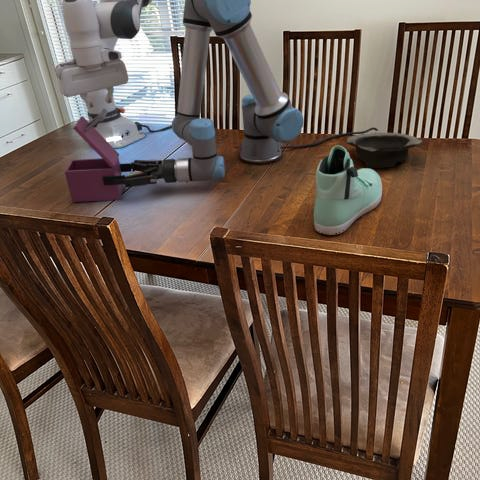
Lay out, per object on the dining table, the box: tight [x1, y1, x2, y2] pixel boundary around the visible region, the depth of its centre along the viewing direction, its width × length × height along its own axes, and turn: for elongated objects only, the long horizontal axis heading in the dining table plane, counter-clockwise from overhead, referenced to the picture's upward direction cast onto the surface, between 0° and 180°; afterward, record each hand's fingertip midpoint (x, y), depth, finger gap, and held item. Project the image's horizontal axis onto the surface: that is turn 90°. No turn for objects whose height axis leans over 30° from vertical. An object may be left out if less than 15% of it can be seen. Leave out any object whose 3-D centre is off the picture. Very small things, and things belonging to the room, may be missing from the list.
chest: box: [64, 157, 125, 203], centre depth 156 cm, size 15×9×11 cm, turn 93°
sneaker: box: [313, 145, 383, 236], centre depth 133 cm, size 14×35×20 cm, turn 152°
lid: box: [72, 109, 120, 168], centre depth 147 cm, size 16×9×9 cm
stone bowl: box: [346, 132, 423, 169], centre depth 166 cm, size 25×25×9 cm
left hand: (99, 105), depth 143 cm, fingers open, 5 cm apart
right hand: (107, 174), depth 155 cm, fingers closed on chest, 9 cm apart
